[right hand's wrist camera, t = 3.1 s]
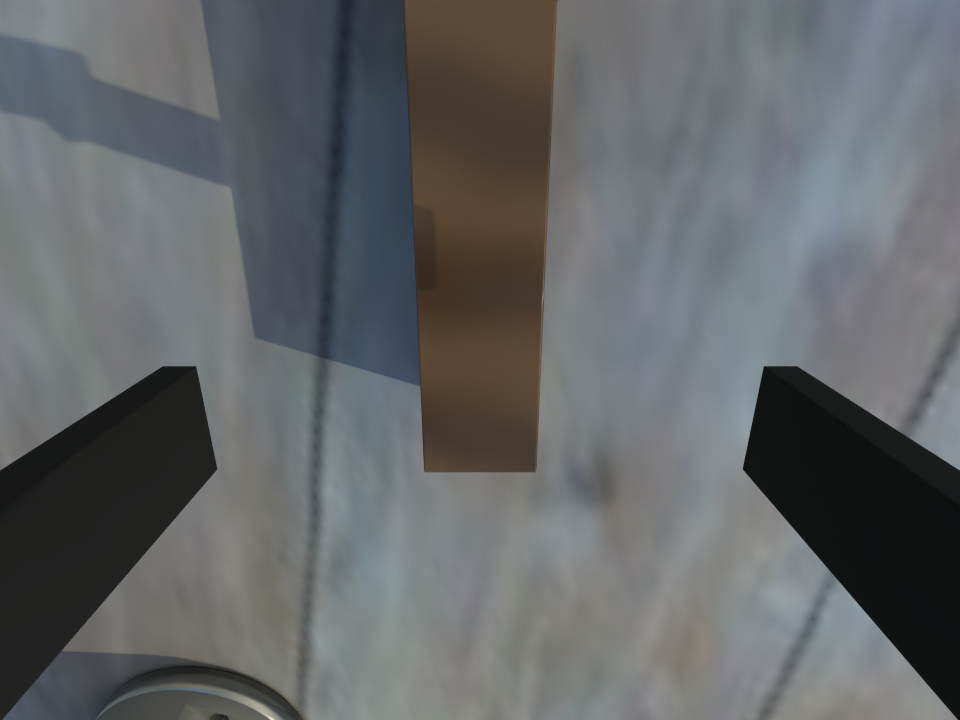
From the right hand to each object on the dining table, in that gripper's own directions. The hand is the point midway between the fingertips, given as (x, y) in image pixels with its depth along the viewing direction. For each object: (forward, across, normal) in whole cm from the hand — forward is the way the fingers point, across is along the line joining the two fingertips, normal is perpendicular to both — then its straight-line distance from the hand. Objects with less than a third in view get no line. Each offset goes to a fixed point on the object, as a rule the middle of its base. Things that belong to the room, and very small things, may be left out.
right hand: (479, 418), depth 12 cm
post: (+15, 0, -26) cm, 30 cm away
